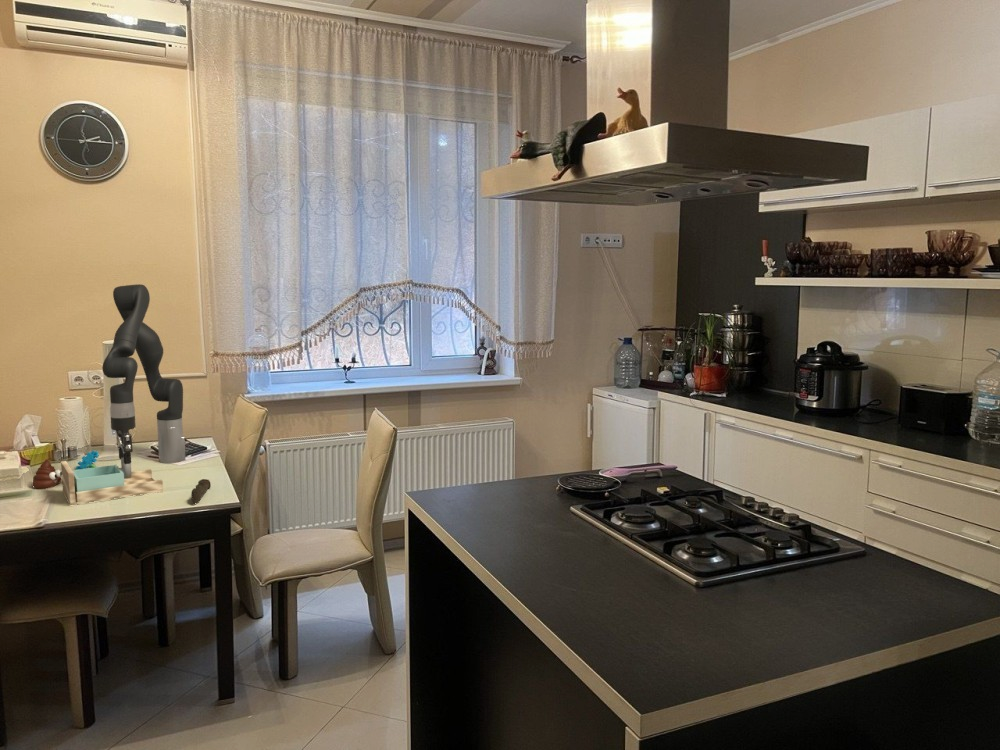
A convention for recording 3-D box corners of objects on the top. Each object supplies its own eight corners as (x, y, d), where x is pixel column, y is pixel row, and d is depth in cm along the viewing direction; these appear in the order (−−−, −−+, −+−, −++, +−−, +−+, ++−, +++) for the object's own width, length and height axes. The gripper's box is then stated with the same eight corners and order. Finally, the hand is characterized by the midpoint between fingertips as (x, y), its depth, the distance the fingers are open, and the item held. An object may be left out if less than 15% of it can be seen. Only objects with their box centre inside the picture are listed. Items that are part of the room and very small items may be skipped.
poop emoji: (44, 481, 269) (42, 456, 268) (67, 481, 269) (65, 456, 268) (26, 489, 259) (24, 463, 258) (51, 489, 259) (49, 463, 258)
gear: (71, 466, 283) (91, 446, 286) (83, 474, 287) (103, 454, 290) (79, 476, 275) (99, 455, 279) (92, 484, 279) (112, 463, 282)
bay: (151, 479, 272) (149, 450, 271) (163, 491, 258) (161, 460, 256) (63, 492, 256) (60, 461, 254) (70, 506, 241) (68, 473, 240)
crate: (128, 481, 265) (126, 453, 264) (136, 490, 255) (134, 461, 254) (72, 489, 255) (70, 460, 253) (78, 499, 245) (75, 469, 243)
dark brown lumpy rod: (199, 489, 262) (198, 476, 261) (211, 489, 263) (210, 476, 262) (184, 506, 243) (184, 493, 243) (197, 506, 244) (196, 492, 243)
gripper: (139, 417, 252) (141, 464, 254) (130, 411, 264) (132, 455, 266) (114, 419, 248) (117, 467, 250) (106, 413, 259) (109, 458, 261)
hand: (125, 461), depth 258 cm, fingers open, 8 cm apart
